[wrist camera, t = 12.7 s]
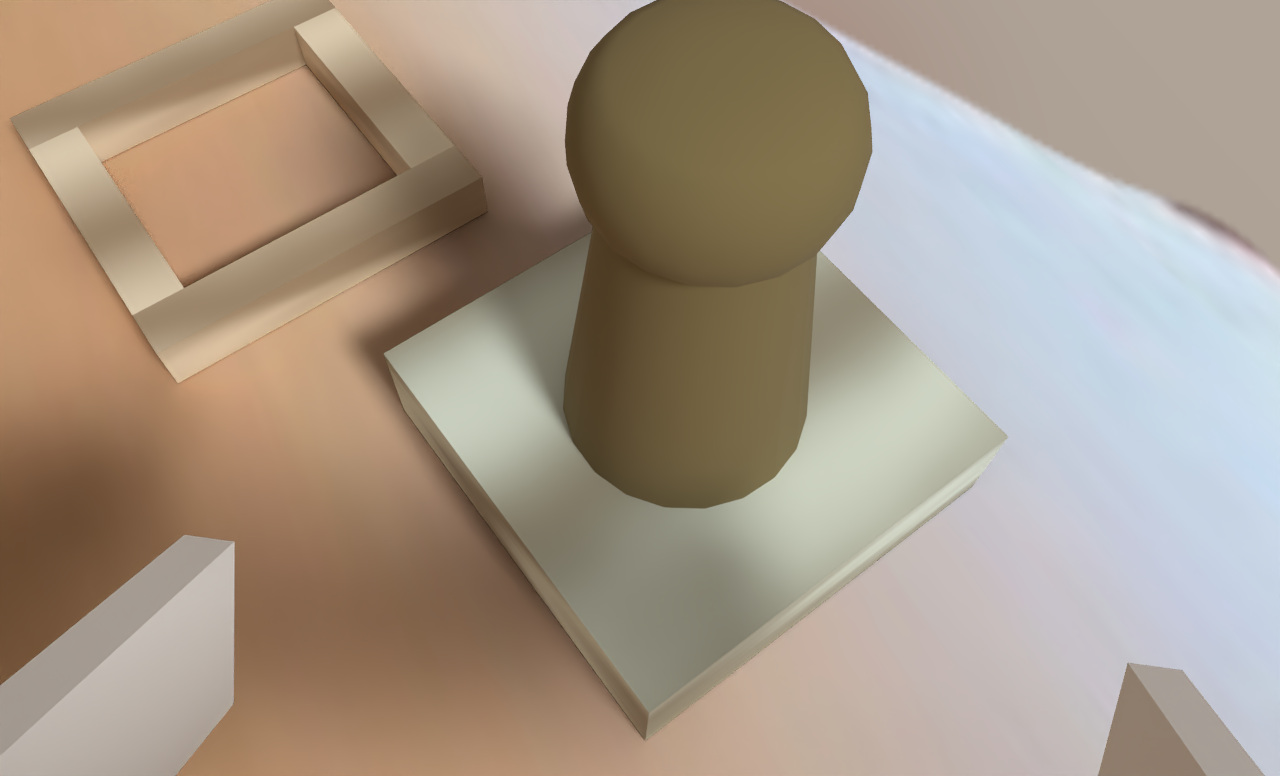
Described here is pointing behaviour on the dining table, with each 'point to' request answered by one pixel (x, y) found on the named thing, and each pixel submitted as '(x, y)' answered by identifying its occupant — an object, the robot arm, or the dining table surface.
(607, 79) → the cork
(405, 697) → the dining table surface
